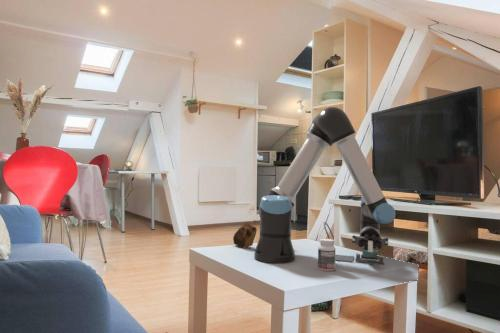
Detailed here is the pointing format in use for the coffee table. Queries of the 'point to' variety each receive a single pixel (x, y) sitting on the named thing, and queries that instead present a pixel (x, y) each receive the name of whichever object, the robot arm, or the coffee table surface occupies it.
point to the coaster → (344, 258)
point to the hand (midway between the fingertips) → (370, 247)
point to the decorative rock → (245, 235)
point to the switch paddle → (369, 254)
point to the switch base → (369, 260)
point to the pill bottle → (326, 255)
